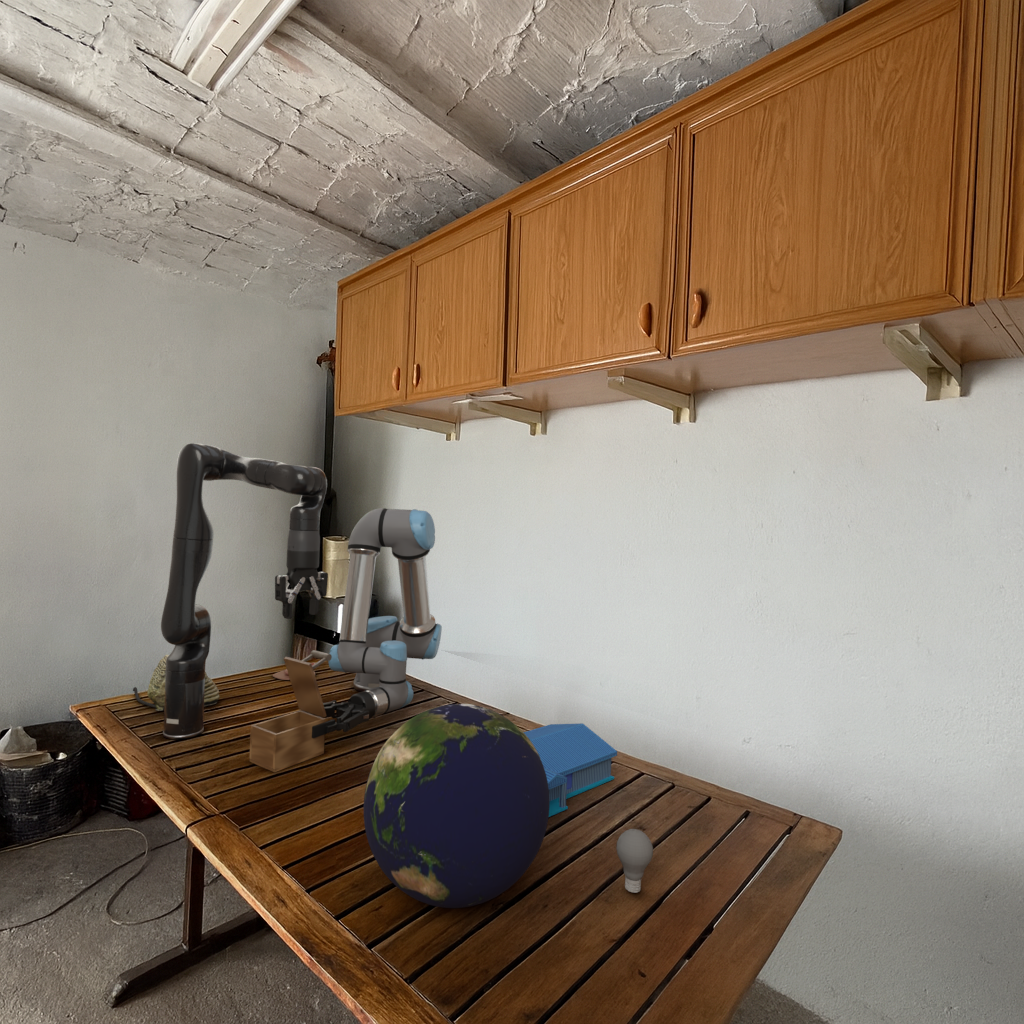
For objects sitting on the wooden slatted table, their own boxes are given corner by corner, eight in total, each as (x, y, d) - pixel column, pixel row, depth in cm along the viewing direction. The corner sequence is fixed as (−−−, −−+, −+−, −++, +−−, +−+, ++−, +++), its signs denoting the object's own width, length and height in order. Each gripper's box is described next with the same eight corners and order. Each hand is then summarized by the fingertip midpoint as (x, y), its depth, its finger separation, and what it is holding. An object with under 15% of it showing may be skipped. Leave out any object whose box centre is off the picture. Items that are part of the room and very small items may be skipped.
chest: (274, 772, 144) (275, 735, 144) (249, 761, 149) (250, 725, 149) (324, 753, 156) (325, 718, 156) (299, 743, 161) (300, 710, 161)
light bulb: (610, 879, 108) (613, 822, 108) (644, 879, 109) (647, 822, 109) (619, 902, 102) (622, 840, 102) (655, 901, 103) (658, 840, 103)
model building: (497, 839, 120) (500, 786, 120) (424, 791, 138) (425, 745, 138) (625, 783, 146) (627, 740, 146) (549, 749, 164) (551, 711, 164)
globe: (319, 919, 95) (326, 721, 95) (420, 827, 123) (427, 673, 122) (502, 984, 84) (511, 760, 83) (568, 867, 112) (576, 698, 111)
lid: (308, 665, 151) (333, 647, 157) (283, 658, 156) (308, 641, 162) (324, 717, 155) (348, 699, 162) (299, 709, 161) (323, 691, 167)
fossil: (144, 707, 182) (145, 655, 182) (212, 696, 194) (213, 647, 194) (151, 716, 175) (153, 662, 175) (221, 703, 188) (223, 653, 188)
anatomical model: (267, 666, 215) (286, 658, 227) (267, 678, 215) (286, 669, 227) (303, 670, 213) (320, 662, 224) (303, 682, 213) (320, 673, 224)
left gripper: (288, 551, 146) (285, 622, 146) (337, 548, 158) (334, 614, 158) (268, 548, 150) (265, 618, 150) (317, 546, 162) (314, 610, 162)
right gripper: (395, 728, 168) (329, 754, 149) (338, 709, 180) (270, 731, 161) (397, 699, 168) (330, 722, 149) (339, 683, 180) (271, 702, 161)
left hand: (300, 616), depth 154 cm, fingers open, 7 cm apart
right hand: (299, 727), depth 155 cm, fingers closed on chest, 9 cm apart
